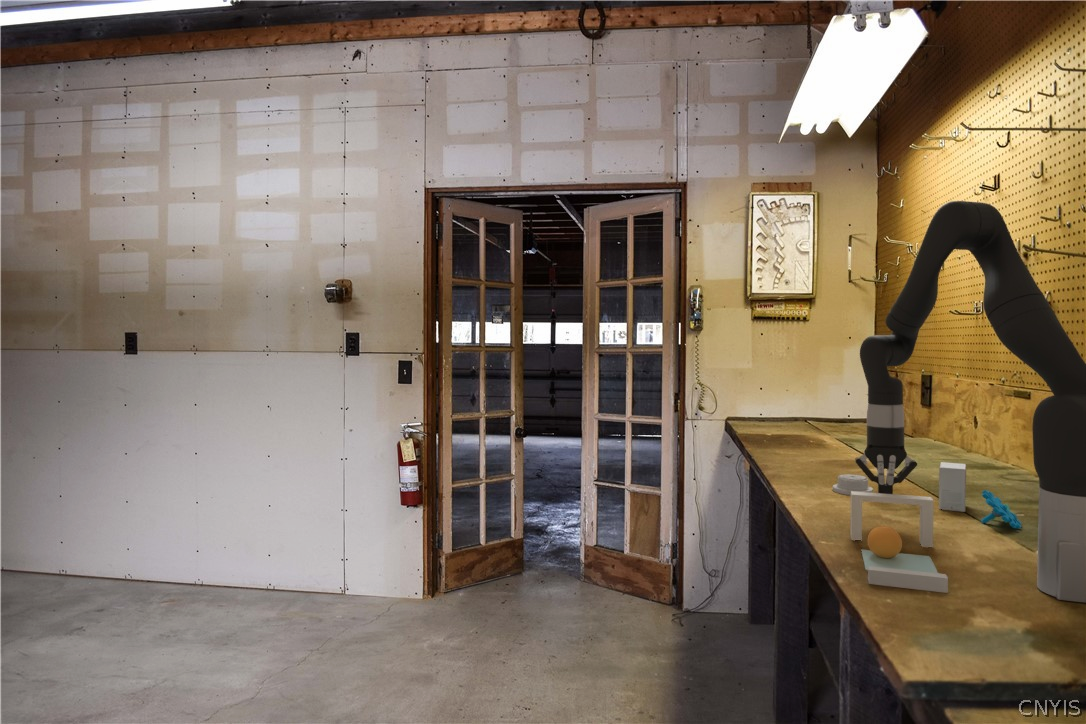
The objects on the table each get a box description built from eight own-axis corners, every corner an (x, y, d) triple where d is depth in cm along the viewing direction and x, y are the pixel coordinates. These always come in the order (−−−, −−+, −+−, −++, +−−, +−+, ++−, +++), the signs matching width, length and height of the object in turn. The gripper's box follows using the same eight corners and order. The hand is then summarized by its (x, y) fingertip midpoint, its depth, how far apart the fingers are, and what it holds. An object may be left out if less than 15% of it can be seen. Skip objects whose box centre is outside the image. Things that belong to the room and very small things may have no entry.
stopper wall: (947, 593, 113) (948, 578, 113) (868, 583, 117) (868, 569, 117) (945, 588, 115) (945, 574, 115) (867, 579, 119) (867, 565, 119)
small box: (965, 512, 161) (966, 469, 161) (938, 509, 164) (939, 467, 164) (965, 505, 168) (966, 463, 168) (939, 502, 171) (940, 461, 171)
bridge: (932, 547, 136) (933, 500, 136) (851, 540, 142) (851, 494, 141) (930, 543, 139) (931, 496, 138) (850, 536, 144) (850, 491, 144)
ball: (902, 535, 133) (903, 564, 129) (868, 533, 136) (869, 562, 132) (900, 521, 129) (902, 551, 125) (865, 520, 132) (866, 549, 128)
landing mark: (940, 578, 119) (940, 577, 119) (865, 570, 124) (865, 569, 124) (929, 557, 130) (929, 556, 130) (861, 550, 135) (861, 549, 135)
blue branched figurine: (1018, 527, 144) (981, 488, 149) (994, 543, 147) (959, 504, 152) (1030, 524, 151) (994, 487, 157) (1006, 538, 154) (973, 502, 160)
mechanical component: (880, 496, 179) (861, 488, 189) (880, 480, 179) (861, 472, 189) (842, 497, 179) (826, 488, 189) (843, 480, 178) (826, 472, 188)
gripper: (853, 425, 150) (854, 502, 151) (921, 427, 145) (921, 506, 146) (852, 421, 157) (852, 495, 158) (916, 423, 152) (916, 499, 153)
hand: (885, 500), depth 152 cm, fingers closed
